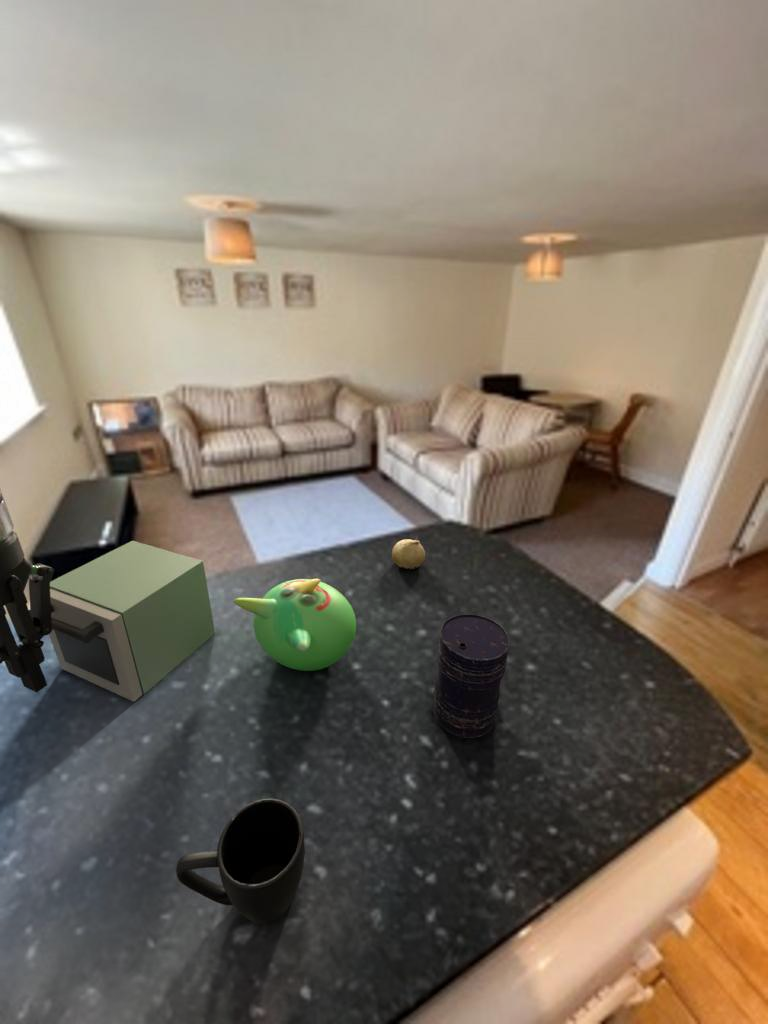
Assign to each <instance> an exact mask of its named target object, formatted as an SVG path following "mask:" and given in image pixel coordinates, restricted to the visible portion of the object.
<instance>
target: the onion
mask: <svg viewBox="0 0 768 1024" xmlns="http://www.w3.org/2000/svg"><path fill="white" fill-rule="evenodd" d="M418 538H419V537H417V536H416V537H415V539H410V538H409V539H402V540H399V541H398V542H396V543H395V545H393V548H392V550H391V557H392V561H393V562H394V564H395V565H396V566H398V567H399V568H401V569H407V570H414V569H417V568H419V567H420V566H422V564H423V563H424V562H425V559H426V551H425V549H424V547H423V545H422V544H421V542H420V540H418ZM415 567H416V568H415ZM408 568H409V569H408Z"/></svg>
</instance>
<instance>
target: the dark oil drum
mask: <svg viewBox="0 0 768 1024" xmlns="http://www.w3.org/2000/svg"><path fill="white" fill-rule="evenodd" d="M440 628H441V629H440V636H439V642H438V648H437V658H436V659H437V665H438V670H437V675H436V677H435V683H434V689H433V705H432V711H433V715H434V717H435V719H436V721H437V723H438V724H439V725H440V726H441V728H443V729H444V730H445V731H446V732H448V733H450V734H452V735H454V736H457V737H461V738H466V739H473V738H479V737H482V736H485V735H486V734H487V733H489V732H490V731H491V730H492V728H493V727H494V725H495V721H496V718H497V713H498V711H499V705H500V697H501V682H502V679H503V677H504V675H505V673H506V667H507V662H508V653H509V647H510V638H509V635H508V633H507V631H506V630H505V629H504V628H503V626H501V625H500V624H499V623H498V622H496V621H494V620H492V619H491V618H489V617H485V616H482V615H477V614H473V613H471V614H470V613H466V614H457V615H455V616H452V617H450V618H448V619H447V620H446V621H445V622H443V624H442V626H441V627H440Z"/></svg>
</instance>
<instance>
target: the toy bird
mask: <svg viewBox="0 0 768 1024" xmlns="http://www.w3.org/2000/svg"><path fill="white" fill-rule="evenodd" d="M233 603H234V604H235V605H236V606H237V607H239V608H241V609H243V610H245V611H248V612H250V613H252V614H254V616H253V617H254V618H253V631H254V634H255V638H256V640H257V642H258V644H259V645H260V648H262V649H263V651H264V652H265V653H266V654H267V655H268V656H269V657H270V658H271V659H273V661H276V663H279V664H280V665H282V666H284V667H287V668H289V669H293V670H295V671H303V672H313V671H319V670H323V669H326V668H328V667H330V666H333V665H334V664H336V663H337V662H338V661H340V660H341V659H342V658H343V657H344V656H345V655H346V653H347V652H348V651H349V649H350V647H352V645H353V642H354V639H355V636H356V632H357V631H356V630H357V619H356V614H355V611H354V609H353V607H352V605H351V604H350V602H349V601H348V600H347V598H346V597H345V596H344V595H343V594H342V593H341V592H340V591H339V590H337V588H334V587H333V586H331V585H329V584H328V583H325V582H323V581H321V579H320V578H313V579H310V578H298V579H297V578H296V579H291V580H286V581H284V582H282V583H279V584H277V585H276V586H274V587H273V588H271V589H270V590H268V592H266V594H265V595H264V596H263V597H262V598H259V597H257V598H256V597H237V598H234V600H233Z"/></svg>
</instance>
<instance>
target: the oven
mask: <svg viewBox="0 0 768 1024" xmlns="http://www.w3.org/2000/svg"><path fill="white" fill-rule="evenodd" d="M50 588H51V589H54V590H57V591H59V592H62V593H65V594H67V595H70V596H73V597H75V598H78V599H81V600H83V601H86V602H89V603H92V604H94V605H97V606H100V607H102V608H105V609H108V610H110V611H113V612H116V613H119V614H121V615H122V619H123V623H124V626H125V630H126V634H127V638H128V642H129V645H130V649H131V653H132V657H133V661H134V664H135V668H136V672H137V676H138V680H139V683H140V687H141V691H142V695H145V694H146V693H148V691H150V690H151V689H152V688H154V687H155V686H156V685H157V684H158V683H159V682H160V681H161V680H162V679H164V678H165V677H166V676H167V675H169V674H170V673H171V672H172V671H173V670H174V669H175V668H176V667H178V666H179V665H180V664H181V663H182V662H184V661H185V660H186V659H187V658H188V657H189V656H191V655H192V654H193V653H194V652H195V651H197V650H198V649H200V647H201V646H202V645H204V644H205V643H206V642H207V641H208V640H210V638H212V637H213V636H214V635H215V634H216V631H215V624H214V618H213V611H212V606H211V600H210V595H209V587H208V581H207V576H206V570H205V565H204V561H203V560H201V559H198V558H194V557H191V556H187V555H184V554H180V553H177V552H173V551H170V550H166V549H163V548H161V547H156V546H153V545H150V544H145V543H142V542H140V541H139V542H138V541H136V540H131V541H129V542H127V543H125V544H123V545H120V546H119V547H117V548H115V549H113V550H111V551H109V552H106V553H105V554H102V555H100V556H99V557H96V558H94V559H93V560H91V561H89V562H87V563H85V564H83V565H81V566H79V567H77V568H75V569H72V570H71V571H69V572H67V573H65V574H63V575H61V576H58V577H57V578H55V579H53V580H51V582H50Z"/></svg>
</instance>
